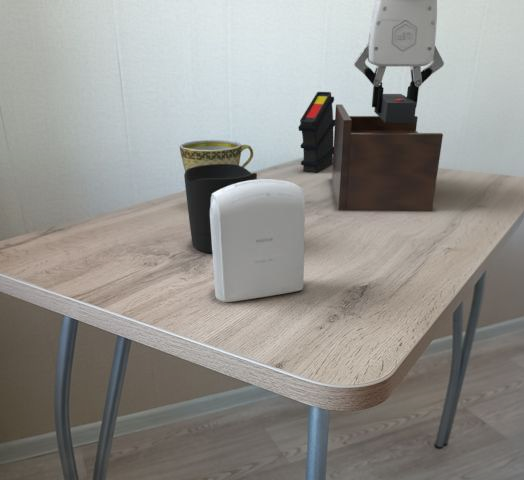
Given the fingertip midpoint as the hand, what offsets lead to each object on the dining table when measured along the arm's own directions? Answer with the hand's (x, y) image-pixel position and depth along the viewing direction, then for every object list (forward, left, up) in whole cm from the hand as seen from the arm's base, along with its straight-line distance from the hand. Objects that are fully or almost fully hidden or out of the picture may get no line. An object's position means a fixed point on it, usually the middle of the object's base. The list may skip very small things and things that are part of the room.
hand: (393, 111), depth 93 cm
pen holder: (+26, +29, -14) cm, 41 cm away
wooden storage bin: (+1, 0, -14) cm, 14 cm away
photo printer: (+20, +45, -14) cm, 51 cm away
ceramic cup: (+29, +8, -14) cm, 33 cm away
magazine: (+12, -22, -14) cm, 29 cm away
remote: (0, 0, -1) cm, 1 cm away
